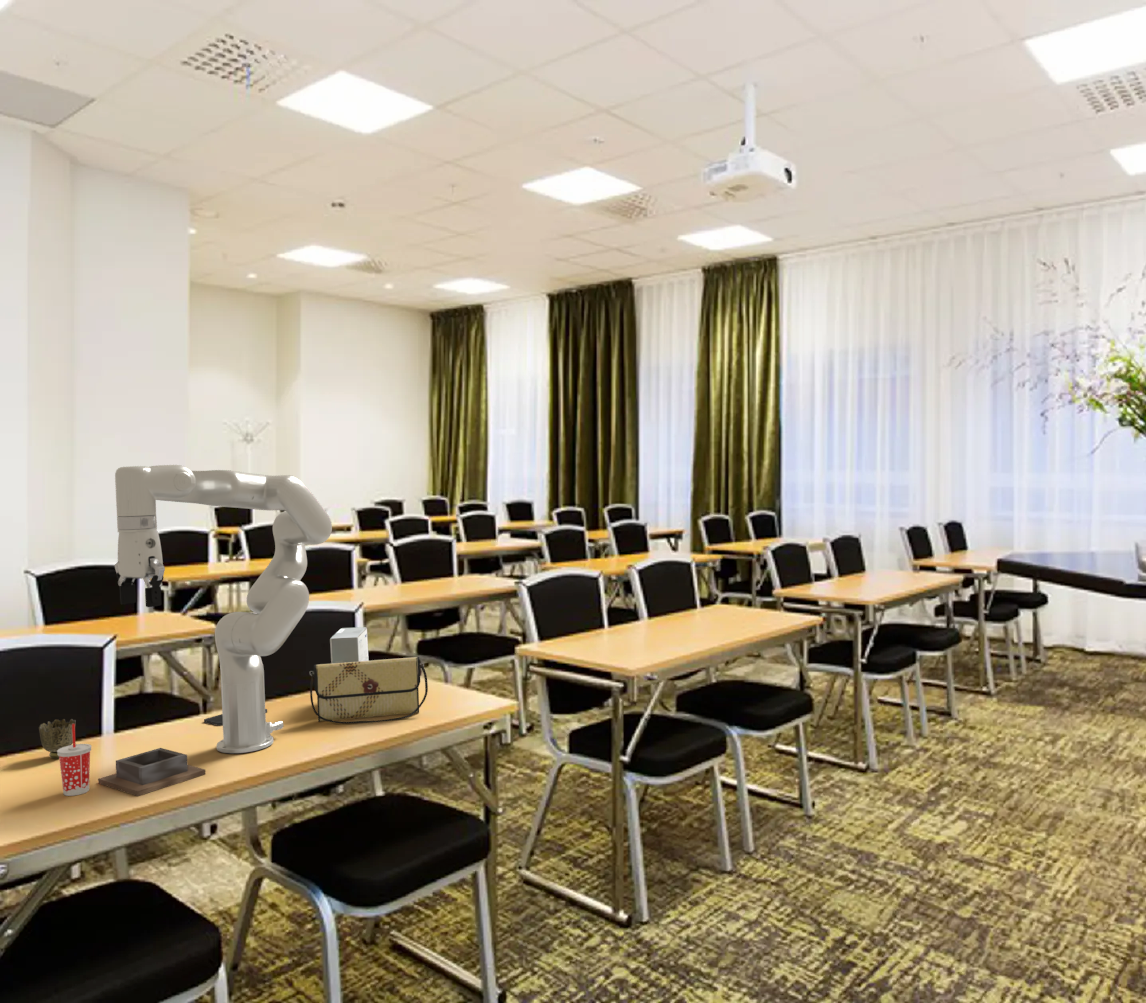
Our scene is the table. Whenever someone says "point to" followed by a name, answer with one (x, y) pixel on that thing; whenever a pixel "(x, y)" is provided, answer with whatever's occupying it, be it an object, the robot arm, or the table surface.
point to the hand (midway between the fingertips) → (140, 604)
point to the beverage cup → (75, 767)
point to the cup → (56, 736)
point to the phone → (217, 720)
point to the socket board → (150, 772)
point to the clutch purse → (367, 689)
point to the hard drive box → (349, 645)
